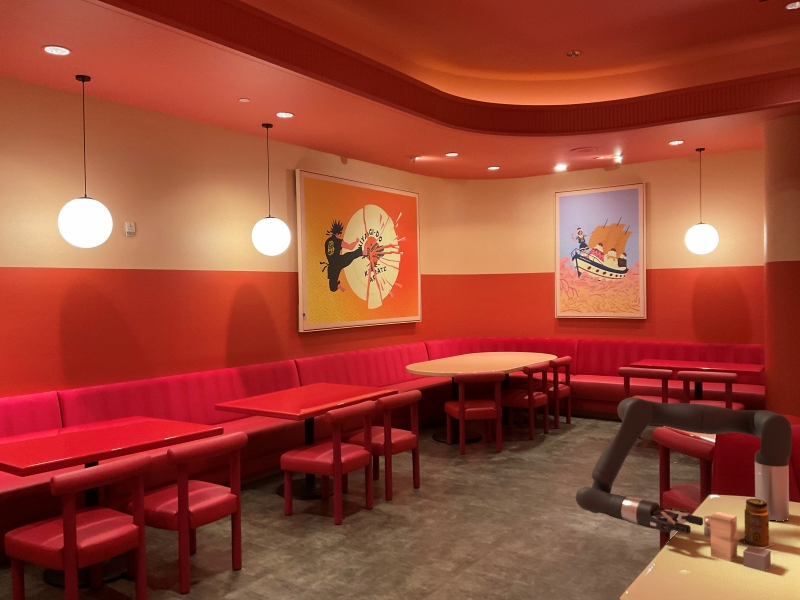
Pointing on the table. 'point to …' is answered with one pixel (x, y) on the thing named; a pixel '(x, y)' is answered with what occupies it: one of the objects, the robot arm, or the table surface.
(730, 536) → the maple block
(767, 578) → the table surface
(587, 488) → the robot arm
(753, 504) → the condiment
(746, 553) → the rubber block
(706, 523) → the metal cylinder
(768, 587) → the table surface
